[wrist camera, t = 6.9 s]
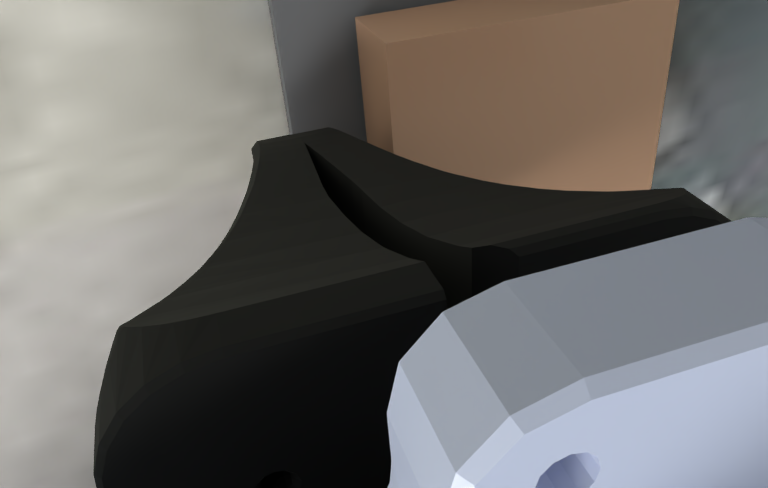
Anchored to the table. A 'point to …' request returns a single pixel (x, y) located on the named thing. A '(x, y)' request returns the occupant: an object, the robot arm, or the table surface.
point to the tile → (521, 89)
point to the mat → (324, 60)
